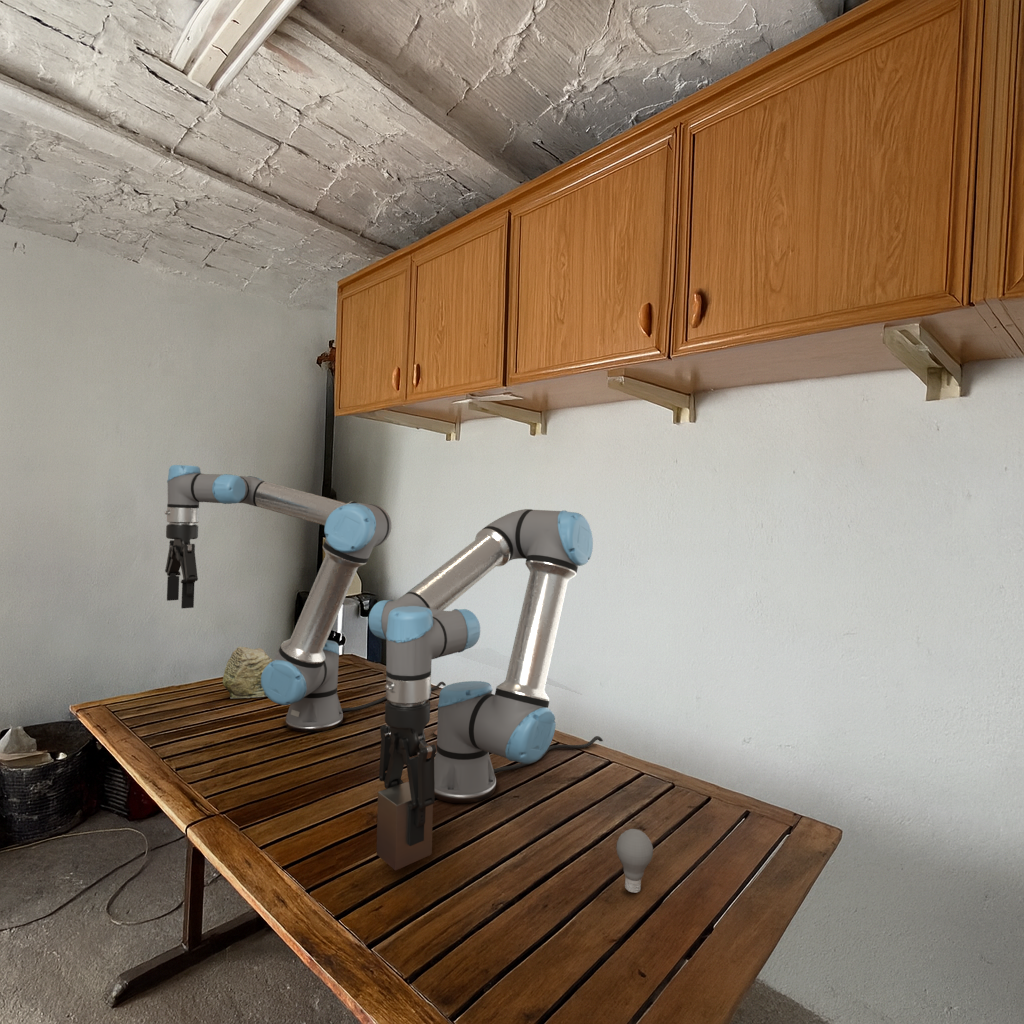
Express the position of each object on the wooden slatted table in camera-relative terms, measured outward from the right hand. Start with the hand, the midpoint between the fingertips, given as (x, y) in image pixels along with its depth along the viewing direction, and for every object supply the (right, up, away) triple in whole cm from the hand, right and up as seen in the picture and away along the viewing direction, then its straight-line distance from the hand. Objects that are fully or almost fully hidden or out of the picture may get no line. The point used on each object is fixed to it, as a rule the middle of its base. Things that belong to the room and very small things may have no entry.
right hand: (404, 833), depth 108 cm
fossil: (-62, -2, +90) cm, 110 cm away
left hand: (-70, +30, +60) cm, 97 cm away
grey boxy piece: (0, -4, 0) cm, 4 cm away
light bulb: (+38, -9, -2) cm, 39 cm away
